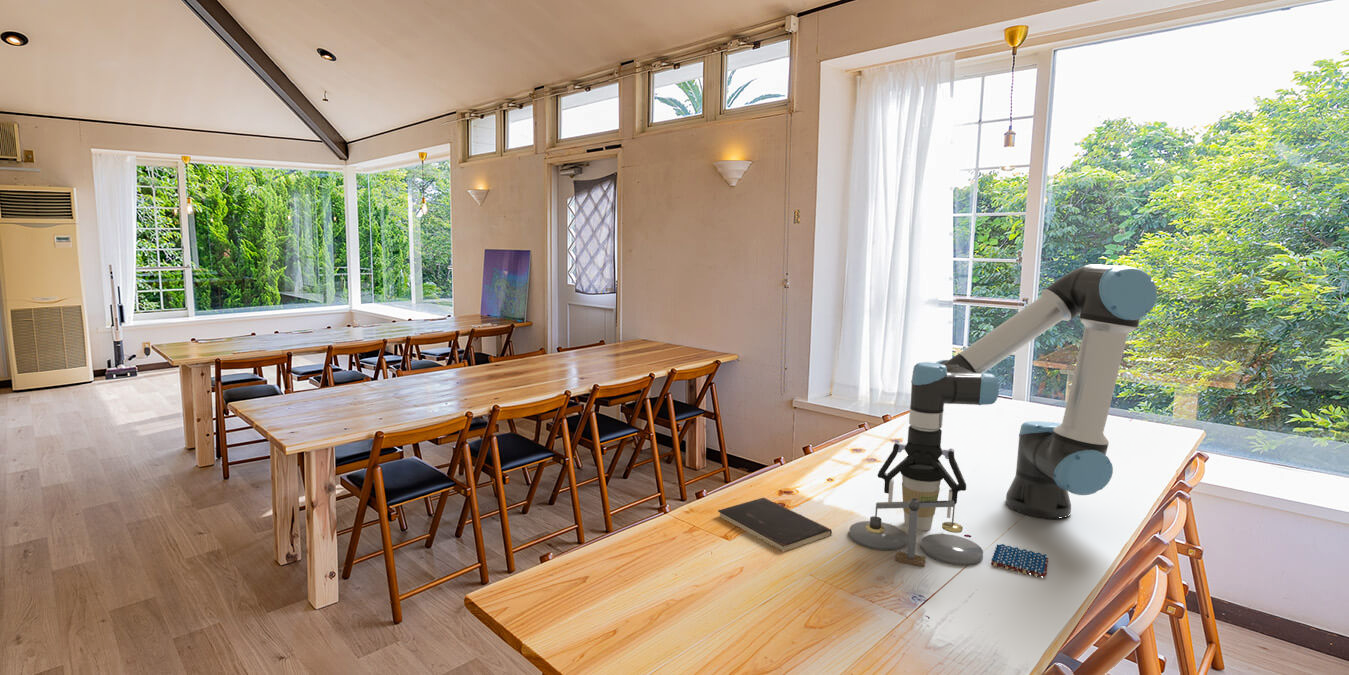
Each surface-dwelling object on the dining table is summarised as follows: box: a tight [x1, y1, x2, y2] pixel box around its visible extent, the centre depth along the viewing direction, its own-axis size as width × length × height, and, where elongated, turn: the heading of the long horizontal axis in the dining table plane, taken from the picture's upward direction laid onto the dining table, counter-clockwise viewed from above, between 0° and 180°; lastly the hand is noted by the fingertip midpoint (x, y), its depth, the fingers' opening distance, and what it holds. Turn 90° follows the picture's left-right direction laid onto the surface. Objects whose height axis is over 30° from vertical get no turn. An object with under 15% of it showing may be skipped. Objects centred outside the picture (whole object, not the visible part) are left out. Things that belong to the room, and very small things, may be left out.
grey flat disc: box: [920, 533, 984, 566], centre depth 152 cm, size 13×13×1 cm
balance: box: [866, 498, 964, 568], centre depth 146 cm, size 20×4×15 cm, turn 66°
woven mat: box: [990, 543, 1049, 577], centre depth 147 cm, size 10×11×2 cm
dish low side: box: [849, 520, 908, 551], centre depth 158 cm, size 13×13×1 cm
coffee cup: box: [899, 462, 944, 532], centre depth 164 cm, size 10×10×15 cm
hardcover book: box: [717, 497, 833, 552], centre depth 164 cm, size 16×23×2 cm
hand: (918, 510), depth 165 cm, fingers open, 13 cm apart
